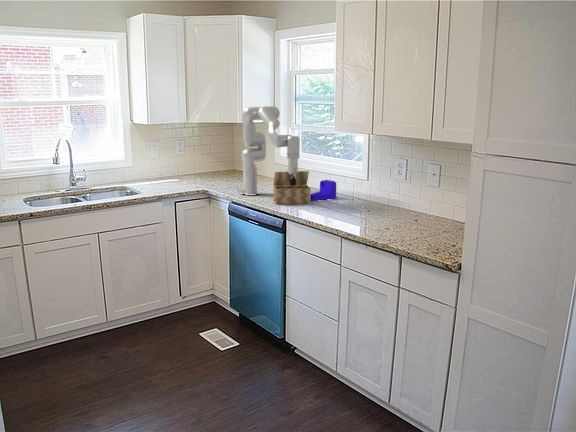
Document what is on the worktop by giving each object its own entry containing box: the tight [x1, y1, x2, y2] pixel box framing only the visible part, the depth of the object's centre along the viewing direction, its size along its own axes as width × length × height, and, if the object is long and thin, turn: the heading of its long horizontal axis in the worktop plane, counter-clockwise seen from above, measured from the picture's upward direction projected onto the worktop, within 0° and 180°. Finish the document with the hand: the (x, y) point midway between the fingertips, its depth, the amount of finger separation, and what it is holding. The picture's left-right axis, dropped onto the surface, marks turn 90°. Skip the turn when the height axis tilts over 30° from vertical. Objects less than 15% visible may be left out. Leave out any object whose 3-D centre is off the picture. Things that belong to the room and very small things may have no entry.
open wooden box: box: [272, 184, 311, 205], centre depth 339 cm, size 22×12×10 cm, turn 99°
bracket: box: [310, 179, 337, 202], centre depth 349 cm, size 18×11×12 cm, turn 132°
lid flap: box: [272, 170, 310, 186], centre depth 339 cm, size 22×12×1 cm
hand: (293, 185), depth 331 cm, fingers closed
